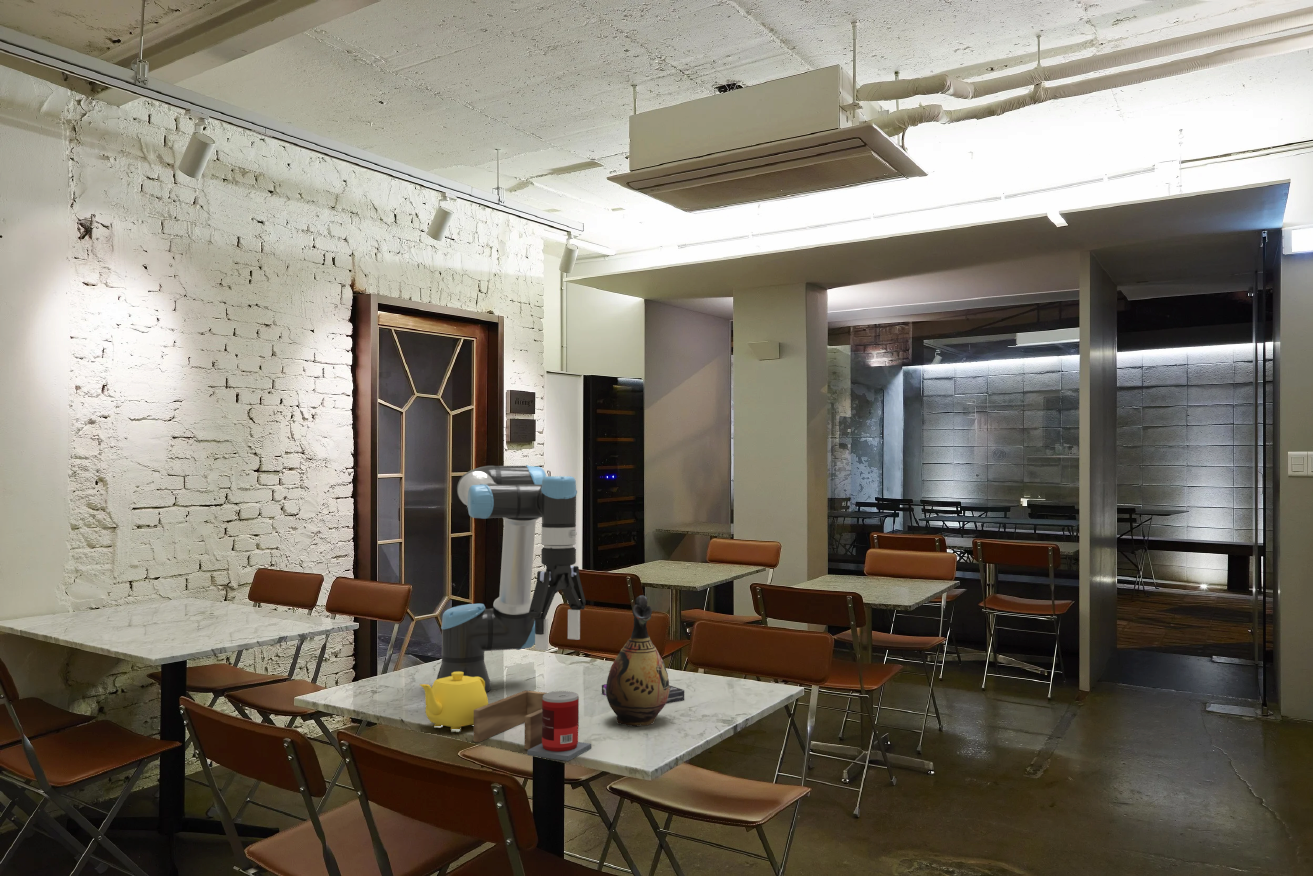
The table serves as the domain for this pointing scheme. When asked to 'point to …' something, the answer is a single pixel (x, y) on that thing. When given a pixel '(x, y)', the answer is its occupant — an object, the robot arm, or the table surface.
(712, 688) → the table surface
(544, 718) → the canned food
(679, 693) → the box
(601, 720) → the table surface
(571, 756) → the coaster
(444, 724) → the teapot
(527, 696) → the shelf
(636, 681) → the ceramic jug
